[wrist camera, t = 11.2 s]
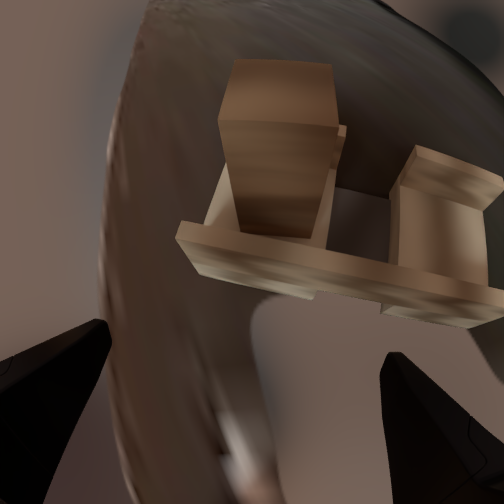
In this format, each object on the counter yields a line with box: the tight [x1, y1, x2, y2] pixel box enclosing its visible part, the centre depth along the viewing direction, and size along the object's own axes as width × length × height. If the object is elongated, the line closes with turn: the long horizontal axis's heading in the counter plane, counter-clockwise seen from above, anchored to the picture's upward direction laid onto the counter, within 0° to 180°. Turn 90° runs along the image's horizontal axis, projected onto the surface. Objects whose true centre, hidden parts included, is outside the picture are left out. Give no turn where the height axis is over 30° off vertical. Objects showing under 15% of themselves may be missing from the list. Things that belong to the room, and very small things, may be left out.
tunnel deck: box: [175, 125, 504, 329], centre depth 21 cm, size 24×11×7 cm, turn 76°
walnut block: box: [218, 59, 339, 239], centre depth 18 cm, size 5×5×11 cm
